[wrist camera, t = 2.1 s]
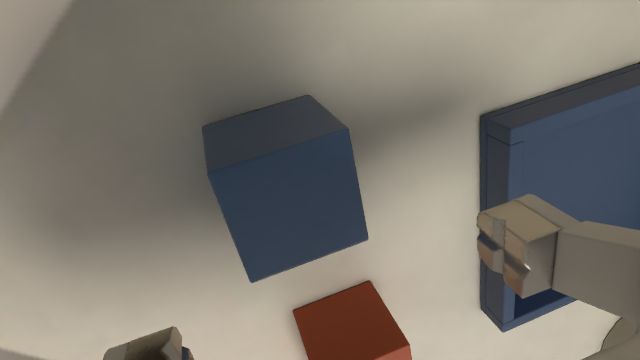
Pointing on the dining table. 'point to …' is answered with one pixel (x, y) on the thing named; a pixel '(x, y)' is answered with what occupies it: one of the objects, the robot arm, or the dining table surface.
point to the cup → (619, 333)
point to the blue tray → (562, 170)
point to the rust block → (351, 327)
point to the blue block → (285, 185)
